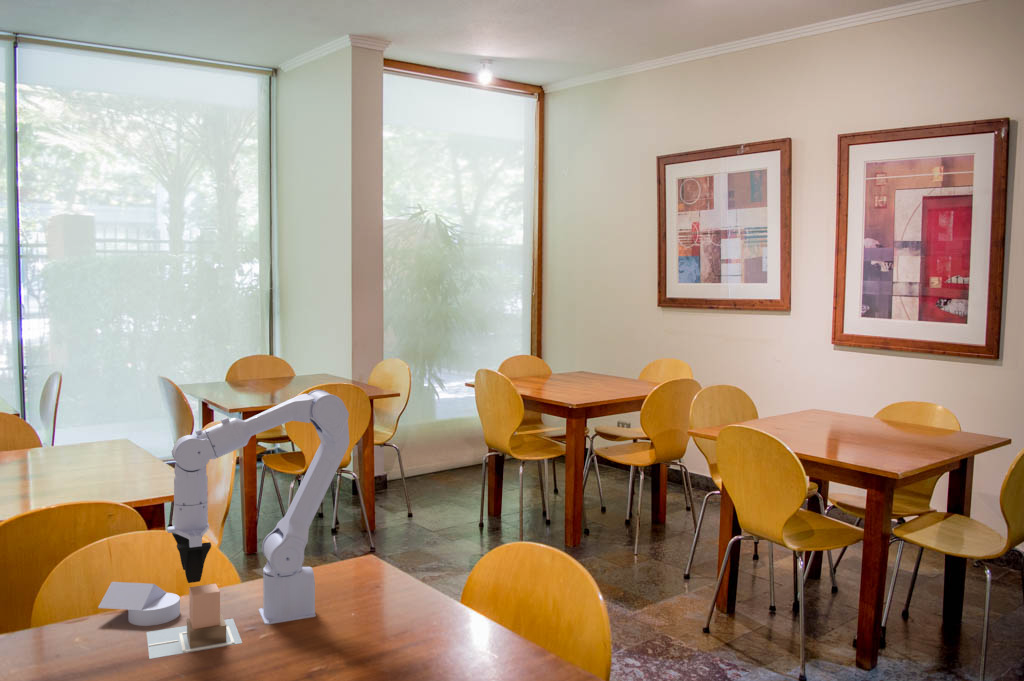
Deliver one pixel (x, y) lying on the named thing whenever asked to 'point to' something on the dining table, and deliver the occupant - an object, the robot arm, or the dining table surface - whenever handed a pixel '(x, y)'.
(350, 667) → the dining table surface
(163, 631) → the board
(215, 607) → the column block
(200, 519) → the robot arm
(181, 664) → the dining table surface
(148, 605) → the wedge on round base
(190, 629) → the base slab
